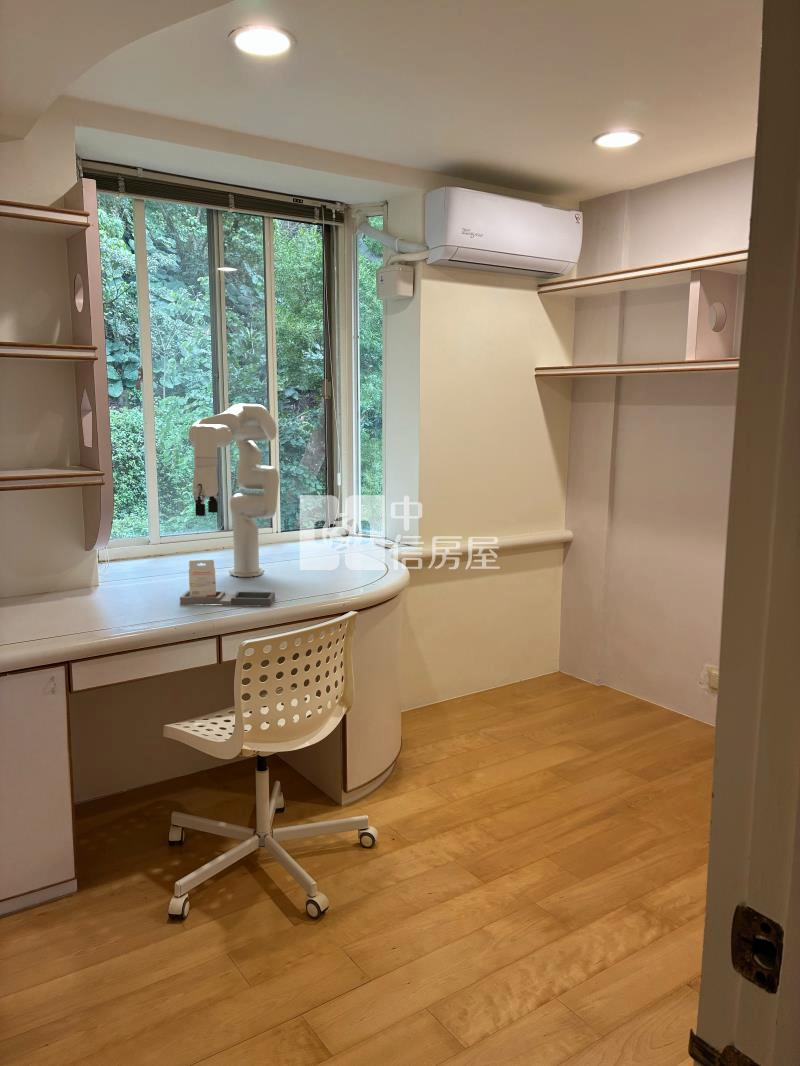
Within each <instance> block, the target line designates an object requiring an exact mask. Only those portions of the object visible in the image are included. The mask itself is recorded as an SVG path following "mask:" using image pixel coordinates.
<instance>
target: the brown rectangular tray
mask: <svg viewBox="0 0 800 1066" xmlns="http://www.w3.org/2000/svg"><path fill="white" fill-rule="evenodd" d="M225 594H226V591H224V590H216V597H190V589H189V590H186V591H185V592H184V593H183V594H182V595H181V596H179V605H180V604H219V600H220V599H221V598H222V597H223V596H224V595H225Z"/></svg>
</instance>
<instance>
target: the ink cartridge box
mask: <svg viewBox="0 0 800 1066" xmlns="http://www.w3.org/2000/svg"><path fill="white" fill-rule="evenodd" d="M200 564H203V565H200ZM188 568H189V569H188V581H189V583H188V584H189V585H188V586H189V591H190V597H216V591H217V585H216V584H217V582H216V567H215V560H213V559H199V560H196V559H195V560H189V561H188Z"/></svg>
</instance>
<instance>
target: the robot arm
mask: <svg viewBox="0 0 800 1066" xmlns="http://www.w3.org/2000/svg"><path fill="white" fill-rule="evenodd" d="M277 430H278V429H277V424H276V422H275V420H274V418H273V417H272V415H271V413H270V412H269V411H268V409H267V408H266V407H265V406H263V405H262V404H258V403H237V404H234V405H232V406H230V407H229V408H227V410H225V411H224V412H222V413H219V414H215V415H211V416H208V417H203V418H201V419H198V420H196V421H195V422H194V423H193V424H192V425H191V426H190V428H189V431H188V440H189V442H190V444H191V445H192V446H193V456H194V457H193V458H194V459H193V460H194V465H193V466H194V469H193V479H192V495H193V499H194V504H195V509H194V510H195V516H196V517H205V516H206V503H205V501H206V499H207V498H208V499H209V500H207V507H208V510H207V511H208V513H214V514H216V513H218V512H219V509H218V501H219V498H218V497H219V489H220V488H219V481H218V469H217V468H218V467H219V465H218V464H219V462H218V461H219V460H218V456H219V455H218V448H225V447H227V446H229V445H230V443H232V440H233V438H234V441H235V444H236V447H237V449H238V464H237V465H238V466H237V472H236V473H237V474H236V475H237V476H236V484H237V487H238V488H239V489H241V490H246V491H263V492H262V493H261V492H260V493H258V492H237V493H235V494H233V495H232V496H231V498H230V499H229V508H230V513H231V517H232V520H231V521H232V529H233V531H232V534H233V535H232V536H233V540H232V542H233V569H230V571H229V575H231V576H232V575H233V576H232V577H236V576H238V578H252V577H253V576H254V577H259V576H261V575H263V574H264V569H262V568H260V551H259V548H260V546H259V545H260V544H259V543H260V542H259V540H260V539H259V527H258V524H257V523H256V521H255V520H254V519H271V518H273V517H275V515H276V513H277V512H276V511H277V505H278V496H279V495H278V494H279V483H280V477H279V476H280V475H279V472H278V469H277V468H276V467H274V466H271V465H262V451H261V450H260V448H259V447H258V445H257V444H256V443H255V442H271V441H273V440H274V439H276V437H277V433H278V431H277Z"/></svg>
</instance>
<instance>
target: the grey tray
mask: <svg viewBox="0 0 800 1066" xmlns="http://www.w3.org/2000/svg"><path fill="white" fill-rule="evenodd" d="M274 599H275V600H276V592H275V591H236V592H235V593H233V594H232V593H225V595H224V596H223V597H222V598H221V599H220V600H219V604H222V605H221V606H227V605H260V606H259V607H271V606H272V605H273V603H274V602H273V601H275V600H274ZM272 602H273V603H272ZM271 604H272V605H271ZM270 605H271V606H270Z"/></svg>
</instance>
